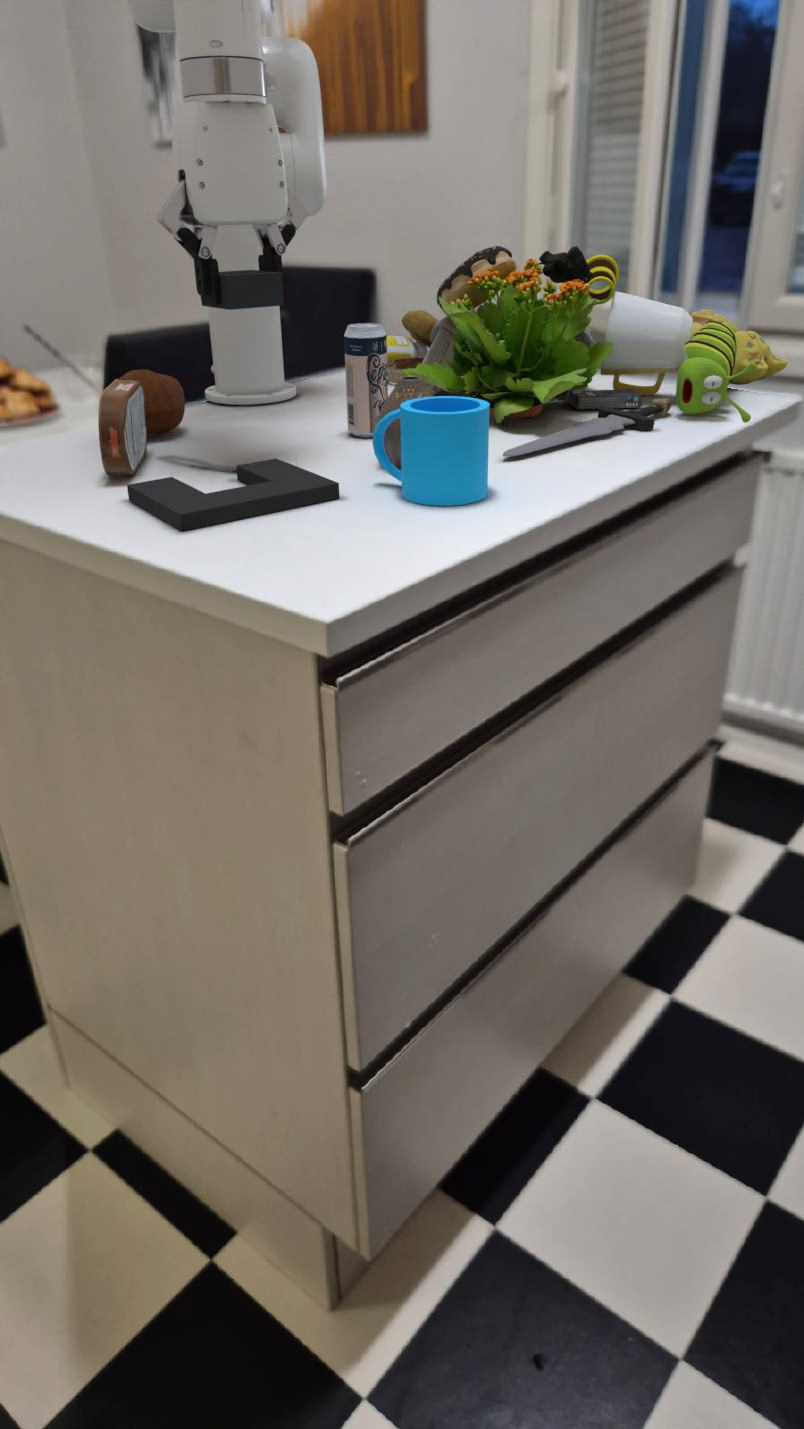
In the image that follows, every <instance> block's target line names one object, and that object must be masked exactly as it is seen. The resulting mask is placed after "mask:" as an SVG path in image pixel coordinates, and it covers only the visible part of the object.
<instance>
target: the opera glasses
mask: <svg viewBox="0 0 804 1429" xmlns="http://www.w3.org/2000/svg"><path fill="white" fill-rule="evenodd" d="M586 262H587V264H588V265H589V266H590V272H591V273H592V274H593V277H592V278H591V279H588V278H586V280H587V282H588V283H589V284H590V288H589V289H587V291H586V292H587V295H586V296H585V298H584V300H585V299H586V298H587V297H588V296H589V297H590V299H598V300H600V301H601V300H602V299H604V301H602V302H603V303H601V304H600V305H605V304H606V303H608V302H609V301H611V300H612V298H613V294H614V292H615V287H616V286H617V283H618V281H619V276H620V270H619V266H618V263H617V262H616V260H614V258H612V257H611V256H609V255H606V254H597V255H594V256H591V257H590V258H588V259H587V260H586ZM598 281H603V282H606V283H607V284H608V285H607V286H606V287H604V288H602V289H601V288H600V289H594V288H591V287H592V285H593V284H594V283H596V282H598ZM558 293H560V294H562V291H561V290H559V292H558ZM562 300H563V301H564V302H565V304H566V301H567V298H563V299H562ZM565 306H566V305H565ZM590 308H592V310H593V309H594V306H593V307H590ZM590 314H591V312H590V313H589V314H588V315H587V316H586V317H588V316H589V315H590ZM586 317H585V318H586Z"/></svg>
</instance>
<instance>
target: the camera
mask: <svg viewBox="0 0 804 1429" xmlns="http://www.w3.org/2000/svg"><path fill="white" fill-rule="evenodd" d="M479 306H480V305H479ZM479 306H478V307H479ZM478 307H476V308H474V309H475V311H476V313H477V308H478ZM469 312H471V311H469ZM437 320H438V322H437V323H436V324H435V326H434V328H433V329H432V331H431V334H430V341H431V342H432V344H431V346H430V348H429V347H428V349H427V351H428V352H427V354H426V356H425V358H424V360H423V362H422V364H428V365H430V366H431V367H433V364H434V362H437V363H438V364H439V365H442V368H443V369H445V367H449V366H448V365H447V364H446V363H445V362H444V361H443V360H442V358H443V357H445V358H446V359H448V360H449V362H451V360H452V361H453V362H454V364H455V365H456V363H455V361H454V358H453V354H454V353H453V349H452V346H453V345H455V343H454V335H455V334H456V329H457V327H456V326H455V325H454V323H453V321H452V319H451V318H450V317H449V316H448V315H446V314H445V316H444V317H443V318H441V319H437ZM440 356H441V357H442V358H441V357H440ZM449 369H450V370H451V371H453V370H452V369H451V368H450V367H449ZM453 372H454V371H453ZM454 373H455V372H454ZM455 374H456V373H455ZM456 376H458V375H457V374H456ZM424 384H425V386H426V387H427V389H428V390H429V392H430V393H431V394H432V396H433V397H436V395H437V394H438V393H439V392H440V391H445V390H444V389H441V388H439V387H437V386H435V385H432V384H430V383H427V382H424Z"/></svg>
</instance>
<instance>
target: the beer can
mask: <svg viewBox="0 0 804 1429" xmlns="http://www.w3.org/2000/svg"><path fill="white" fill-rule="evenodd" d="M387 336H388V334H387V331H386V330H385V327H384V325H383V324H381V323H376V322H374V323H373V322H362V323H360V322H359V323H351V324H348V325H347V326H346V329H345V331H344V334H343V345H344V346H343V348H344V363H345V364H344V366H345V393H346V413H347V414H346V415H347V416H346V417H347V431H348V433H351V434H352V435H353V436H354V437H357V438H373V435H374V430H375V429H376V427H377V425H378V418H379V414H380V411H381V408H382V406H383V404H384V402H385V401H386V399H387V398H388V397H389V381H388V375H387Z"/></svg>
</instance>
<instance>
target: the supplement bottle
mask: <svg viewBox="0 0 804 1429" xmlns="http://www.w3.org/2000/svg"><path fill="white" fill-rule="evenodd" d="M427 352H428V347H427V346H426V345H425V344H424V343H422V342H417V341H413V339H412V338H410V337H408V336H404V335H403V336H401V335H400V336H398V335H387V364H389V363H391V362H392V360H395V359H398V358H403V357H410V356H411V357H416V356H418V357H422V356H426V354H427Z"/></svg>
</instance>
